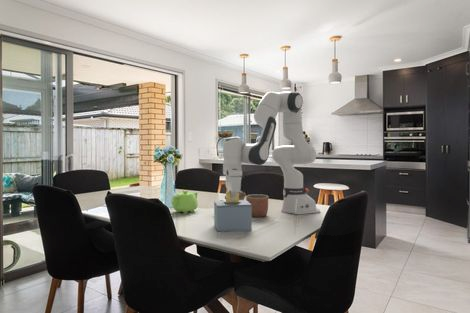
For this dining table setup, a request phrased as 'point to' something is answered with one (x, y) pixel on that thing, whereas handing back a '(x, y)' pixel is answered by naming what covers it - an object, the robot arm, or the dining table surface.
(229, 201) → the block
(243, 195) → the decorative box
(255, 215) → the planter
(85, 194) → the dining table surface
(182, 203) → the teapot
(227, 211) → the moneybox
